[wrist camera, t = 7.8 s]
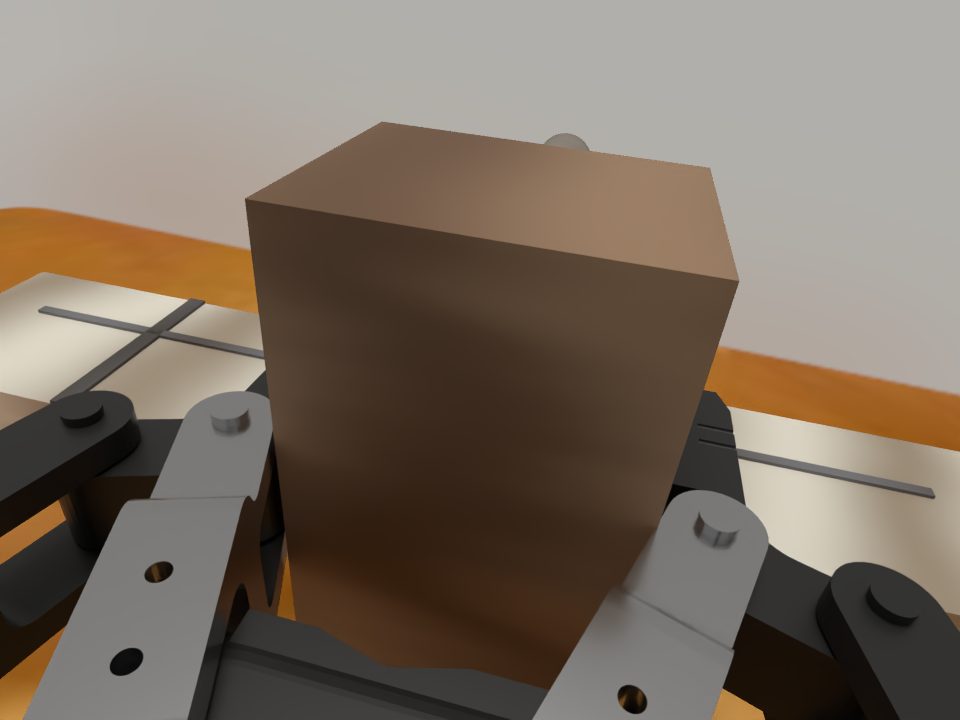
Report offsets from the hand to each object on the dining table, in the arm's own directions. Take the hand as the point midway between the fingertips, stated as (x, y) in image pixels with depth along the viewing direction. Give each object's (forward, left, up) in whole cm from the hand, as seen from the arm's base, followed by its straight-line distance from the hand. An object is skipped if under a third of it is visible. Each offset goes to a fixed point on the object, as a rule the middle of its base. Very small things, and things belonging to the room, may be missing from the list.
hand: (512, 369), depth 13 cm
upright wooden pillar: (0, 0, -7) cm, 7 cm away
